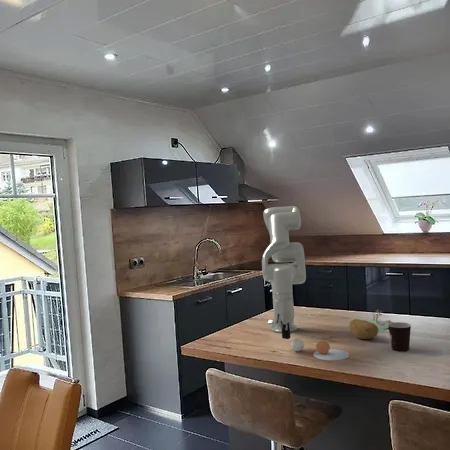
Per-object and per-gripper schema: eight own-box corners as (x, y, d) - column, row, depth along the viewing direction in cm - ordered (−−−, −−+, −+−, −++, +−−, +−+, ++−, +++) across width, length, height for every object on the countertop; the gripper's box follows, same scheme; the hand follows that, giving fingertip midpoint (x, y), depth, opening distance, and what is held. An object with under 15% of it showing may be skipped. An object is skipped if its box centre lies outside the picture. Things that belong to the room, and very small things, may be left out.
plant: (337, 324, 239) (336, 306, 239) (364, 317, 251) (363, 300, 250) (378, 333, 219) (377, 314, 218) (406, 325, 230) (405, 306, 230)
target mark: (307, 357, 189) (307, 357, 189) (322, 347, 200) (322, 347, 200) (341, 362, 181) (341, 362, 181) (354, 352, 192) (354, 351, 192)
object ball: (316, 339, 191) (328, 347, 188) (322, 336, 195) (333, 343, 193) (311, 350, 193) (323, 358, 190) (317, 347, 197) (328, 354, 194)
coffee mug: (409, 353, 186) (408, 328, 186) (387, 351, 190) (385, 326, 190) (415, 345, 196) (414, 321, 195) (393, 343, 200) (392, 319, 200)
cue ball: (297, 341, 194) (301, 353, 194) (304, 335, 198) (308, 348, 198) (286, 341, 198) (290, 353, 198) (294, 336, 202) (297, 348, 202)
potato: (369, 344, 202) (368, 325, 201) (344, 337, 214) (343, 319, 213) (385, 339, 207) (384, 321, 206) (360, 333, 219) (359, 316, 218)
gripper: (284, 291, 210) (286, 332, 212) (267, 299, 198) (269, 342, 199) (299, 292, 206) (302, 334, 207) (283, 300, 194) (285, 344, 195)
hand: (286, 338), depth 203 cm, fingers closed
